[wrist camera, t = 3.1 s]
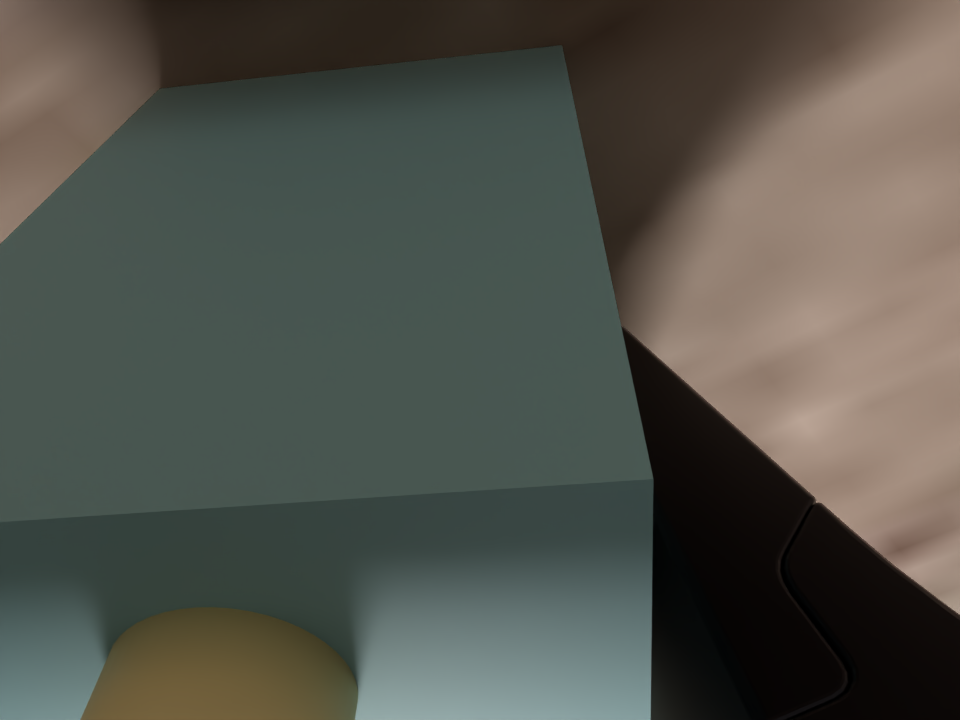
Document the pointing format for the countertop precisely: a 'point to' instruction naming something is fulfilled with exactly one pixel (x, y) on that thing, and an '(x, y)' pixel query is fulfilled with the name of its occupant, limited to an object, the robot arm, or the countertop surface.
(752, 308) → the countertop surface
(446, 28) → the countertop surface
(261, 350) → the teal box with knob
